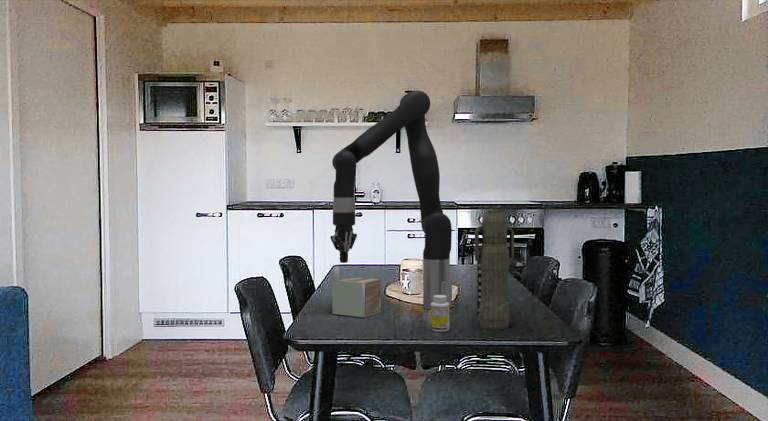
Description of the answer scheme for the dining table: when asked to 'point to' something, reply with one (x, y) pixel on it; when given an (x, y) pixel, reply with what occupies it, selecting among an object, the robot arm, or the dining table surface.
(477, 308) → the white-spotted black cylinder
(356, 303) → the grey-green rectangular panel
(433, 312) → the supplement bottle
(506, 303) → the thermos
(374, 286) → the birch box
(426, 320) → the dining table surface
